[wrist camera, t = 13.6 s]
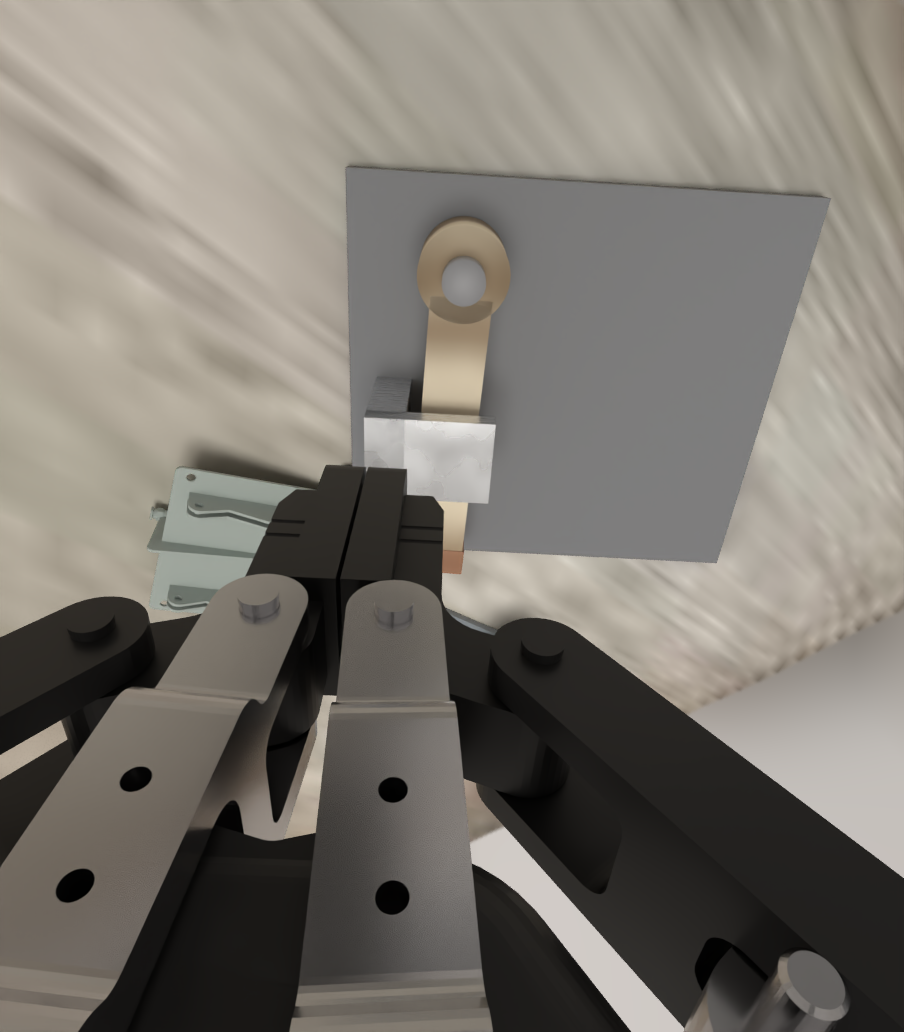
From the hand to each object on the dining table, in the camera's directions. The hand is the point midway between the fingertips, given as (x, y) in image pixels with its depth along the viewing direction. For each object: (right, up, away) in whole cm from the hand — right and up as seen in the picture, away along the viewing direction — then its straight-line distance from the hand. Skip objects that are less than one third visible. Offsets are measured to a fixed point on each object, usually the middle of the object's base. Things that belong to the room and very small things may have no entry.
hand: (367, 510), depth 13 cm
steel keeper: (0, +6, +27) cm, 27 cm away
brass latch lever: (+1, +7, +26) cm, 27 cm away
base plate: (+8, +7, +27) cm, 29 cm away
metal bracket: (-11, -1, +33) cm, 35 cm away
